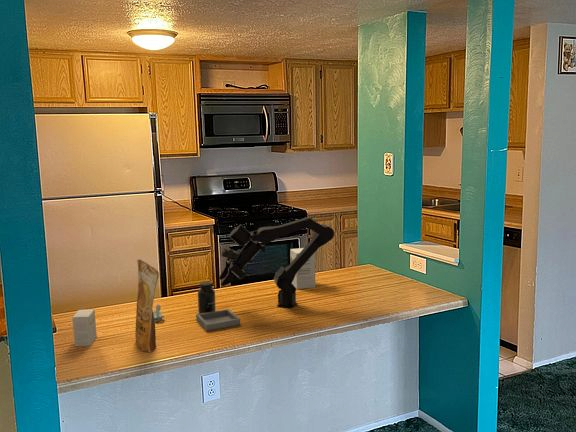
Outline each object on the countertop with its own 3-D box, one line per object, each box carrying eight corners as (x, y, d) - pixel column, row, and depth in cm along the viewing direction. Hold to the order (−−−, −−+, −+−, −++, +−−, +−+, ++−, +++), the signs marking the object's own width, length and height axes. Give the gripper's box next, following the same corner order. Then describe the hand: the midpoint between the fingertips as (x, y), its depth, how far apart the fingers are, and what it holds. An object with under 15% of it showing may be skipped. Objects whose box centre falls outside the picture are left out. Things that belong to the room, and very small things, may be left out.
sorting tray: (228, 315, 214) (228, 308, 214) (240, 325, 203) (240, 318, 202) (196, 320, 209) (196, 314, 208) (206, 331, 197) (206, 324, 197)
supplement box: (290, 284, 255) (289, 248, 252) (309, 282, 258) (308, 247, 255) (296, 289, 246) (296, 253, 243) (316, 287, 249) (315, 251, 246)
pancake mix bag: (151, 333, 197) (146, 257, 192) (164, 351, 180) (159, 269, 176) (132, 336, 194) (127, 259, 190) (143, 355, 177) (138, 271, 173)
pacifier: (150, 324, 206) (165, 321, 209) (148, 308, 205) (164, 305, 208) (145, 318, 213) (160, 315, 215) (144, 303, 212) (159, 300, 214)
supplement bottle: (212, 315, 214) (211, 286, 212) (196, 314, 215) (194, 285, 213) (218, 310, 220) (216, 281, 219) (202, 309, 222) (200, 280, 220)
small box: (81, 337, 194) (78, 309, 192) (97, 337, 194) (94, 308, 192) (74, 346, 186) (71, 317, 184) (91, 345, 186) (88, 316, 185)
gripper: (230, 235, 224) (204, 263, 224) (235, 244, 206) (207, 275, 206) (249, 253, 227) (224, 280, 227) (256, 263, 209) (228, 293, 209)
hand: (220, 282), depth 217 cm, fingers open, 9 cm apart
